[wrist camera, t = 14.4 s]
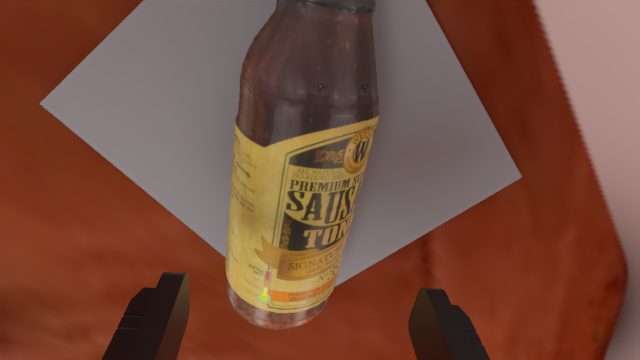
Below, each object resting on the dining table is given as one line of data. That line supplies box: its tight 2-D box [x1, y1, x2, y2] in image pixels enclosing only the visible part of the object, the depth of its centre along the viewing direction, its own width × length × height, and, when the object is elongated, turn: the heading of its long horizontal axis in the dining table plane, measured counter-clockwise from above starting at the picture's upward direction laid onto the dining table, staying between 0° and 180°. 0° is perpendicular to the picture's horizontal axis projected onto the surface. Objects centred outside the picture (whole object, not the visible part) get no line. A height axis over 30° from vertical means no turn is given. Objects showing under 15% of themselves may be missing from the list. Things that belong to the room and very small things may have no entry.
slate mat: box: [40, 0, 522, 287], centre depth 21 cm, size 18×20×1 cm
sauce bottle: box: [226, 0, 380, 330], centre depth 17 cm, size 6×6×20 cm
